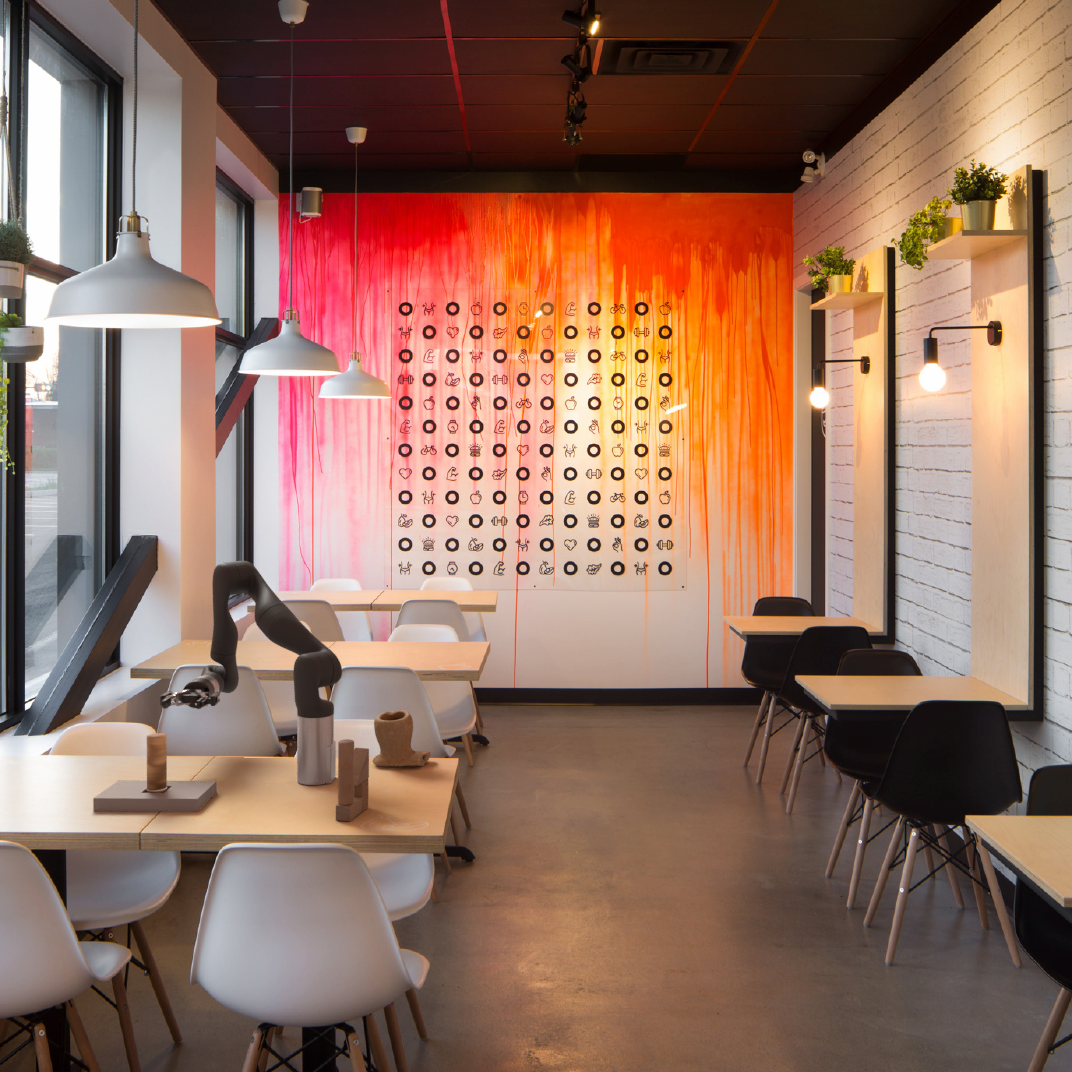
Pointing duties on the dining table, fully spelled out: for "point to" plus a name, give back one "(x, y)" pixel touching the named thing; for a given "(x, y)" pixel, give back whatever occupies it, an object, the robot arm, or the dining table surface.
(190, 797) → the grayish brown board
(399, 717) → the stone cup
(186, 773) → the dining table surface
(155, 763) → the oak peg
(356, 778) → the wooden block
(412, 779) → the dining table surface
